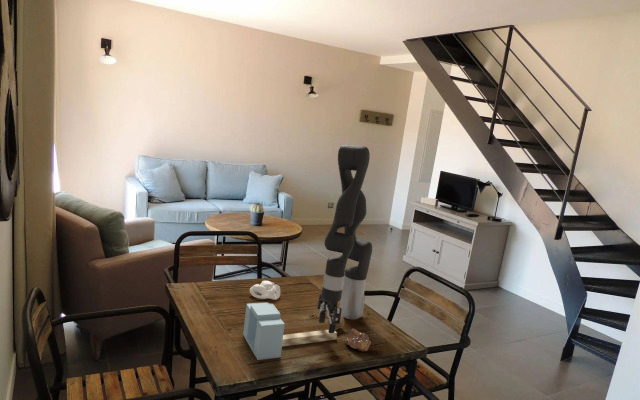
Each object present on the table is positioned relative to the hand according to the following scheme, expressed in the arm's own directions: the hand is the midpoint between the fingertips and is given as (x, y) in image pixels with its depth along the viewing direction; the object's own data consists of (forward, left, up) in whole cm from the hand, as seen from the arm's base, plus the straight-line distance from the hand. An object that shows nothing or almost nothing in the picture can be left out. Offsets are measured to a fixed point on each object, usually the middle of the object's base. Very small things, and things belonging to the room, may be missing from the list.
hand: (326, 327), depth 165 cm
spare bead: (-8, -7, -5) cm, 12 cm away
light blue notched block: (+25, 0, -5) cm, 25 cm away
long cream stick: (+7, 0, -5) cm, 8 cm away
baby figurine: (+10, -40, -5) cm, 41 cm away
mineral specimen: (-10, +7, -5) cm, 13 cm away
